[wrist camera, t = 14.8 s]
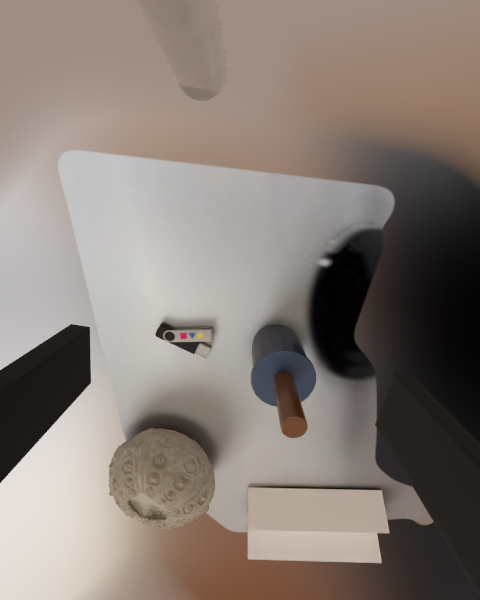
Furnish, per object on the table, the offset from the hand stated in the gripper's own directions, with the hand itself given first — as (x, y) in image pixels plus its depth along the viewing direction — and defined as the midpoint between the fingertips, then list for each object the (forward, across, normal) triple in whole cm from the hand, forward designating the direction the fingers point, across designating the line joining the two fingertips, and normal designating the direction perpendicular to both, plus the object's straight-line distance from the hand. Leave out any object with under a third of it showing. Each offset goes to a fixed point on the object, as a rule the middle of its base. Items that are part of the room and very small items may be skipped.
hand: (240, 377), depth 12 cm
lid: (+20, +7, -12) cm, 24 cm away
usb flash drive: (+28, -7, -12) cm, 32 cm away
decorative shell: (+28, -7, -36) cm, 46 cm away
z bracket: (+28, +22, -49) cm, 60 cm away
